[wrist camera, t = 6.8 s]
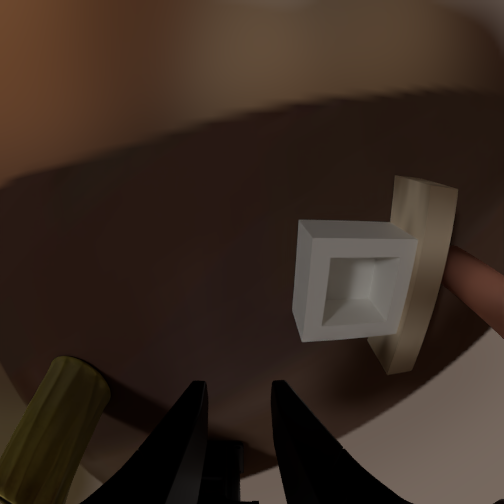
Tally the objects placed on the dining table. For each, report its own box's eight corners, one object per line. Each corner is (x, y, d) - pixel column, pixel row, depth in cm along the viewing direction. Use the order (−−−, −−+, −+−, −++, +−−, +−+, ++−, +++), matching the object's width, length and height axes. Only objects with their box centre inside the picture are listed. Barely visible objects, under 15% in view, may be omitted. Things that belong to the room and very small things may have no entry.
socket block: (375, 306, 20) (396, 333, 16) (292, 310, 19) (301, 342, 16) (390, 222, 18) (418, 239, 14) (298, 219, 17) (312, 237, 14)
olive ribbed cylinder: (42, 351, 20) (-35, 472, 7) (98, 357, 20) (28, 509, 7) (66, 399, 22) (15, 514, 9) (120, 408, 23) (79, 542, 9)
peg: (457, 282, 20) (530, 344, 11) (430, 283, 19) (504, 354, 11) (466, 245, 18) (548, 299, 10) (438, 245, 18) (525, 305, 10)
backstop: (389, 337, 21) (411, 370, 17) (367, 340, 21) (387, 375, 17) (420, 178, 17) (458, 189, 13) (394, 175, 17) (431, 185, 13)
